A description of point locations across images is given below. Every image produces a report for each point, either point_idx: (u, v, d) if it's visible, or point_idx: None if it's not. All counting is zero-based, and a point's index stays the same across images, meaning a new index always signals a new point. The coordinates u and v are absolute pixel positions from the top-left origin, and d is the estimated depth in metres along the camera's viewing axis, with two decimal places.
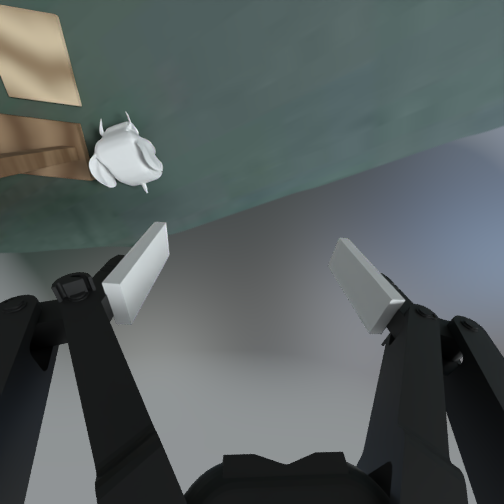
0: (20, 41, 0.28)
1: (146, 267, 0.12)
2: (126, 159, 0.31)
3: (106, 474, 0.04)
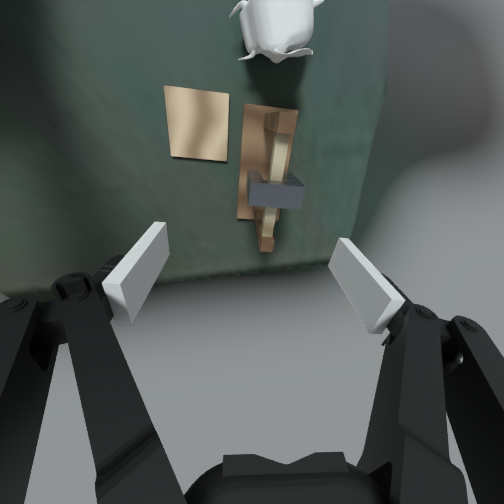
0: (188, 129, 0.35)
1: (146, 267, 0.12)
2: None
3: (106, 474, 0.04)
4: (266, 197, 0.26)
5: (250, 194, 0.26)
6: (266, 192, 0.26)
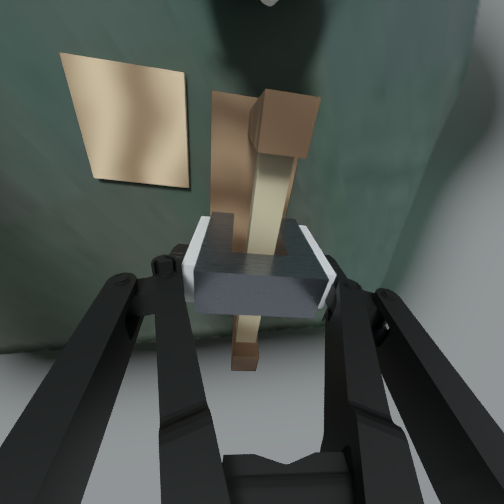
0: (116, 134, 0.20)
1: None
2: None
3: (167, 427, 0.05)
4: (237, 299, 0.11)
5: (196, 293, 0.11)
6: (235, 289, 0.11)
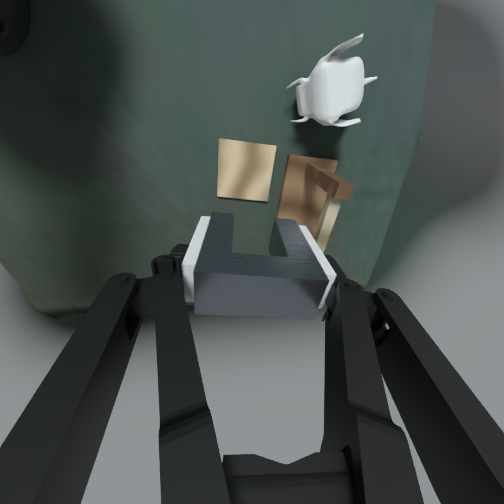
0: (235, 174, 0.38)
1: None
2: (341, 81, 0.26)
3: (167, 427, 0.05)
4: (236, 300, 0.11)
5: (196, 294, 0.11)
6: (234, 290, 0.11)
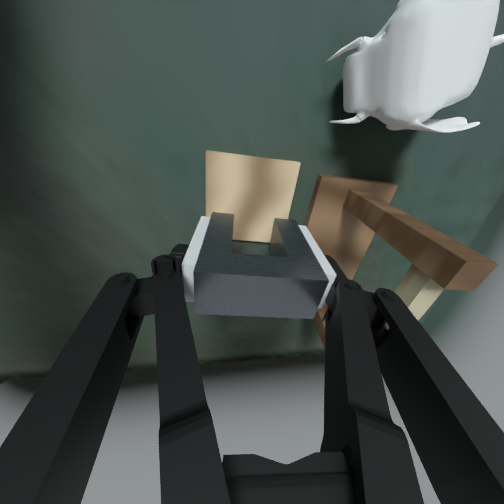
0: (234, 206, 0.24)
1: None
2: (457, 36, 0.12)
3: (167, 428, 0.05)
4: (237, 300, 0.11)
5: (196, 294, 0.11)
6: (234, 290, 0.11)
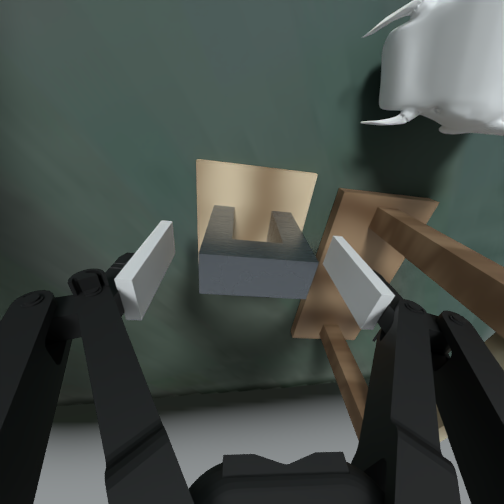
0: None
1: (155, 264, 0.12)
2: None
3: (115, 465, 0.04)
4: (236, 280, 0.13)
5: (201, 274, 0.12)
6: (235, 271, 0.12)
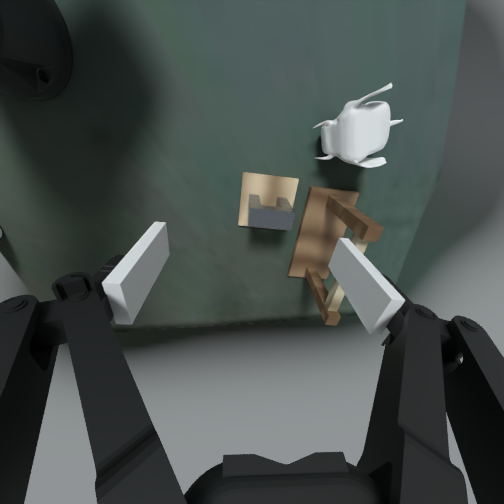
0: None
1: (146, 267, 0.12)
2: (368, 125, 0.27)
3: (106, 474, 0.04)
4: (263, 220, 0.32)
5: (249, 217, 0.32)
6: (263, 216, 0.32)
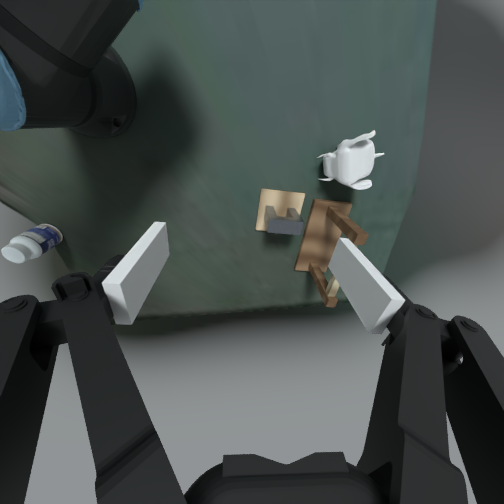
0: None
1: (146, 267, 0.12)
2: (358, 159, 0.37)
3: (106, 474, 0.04)
4: (279, 227, 0.42)
5: (269, 225, 0.42)
6: (279, 224, 0.41)
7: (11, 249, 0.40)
